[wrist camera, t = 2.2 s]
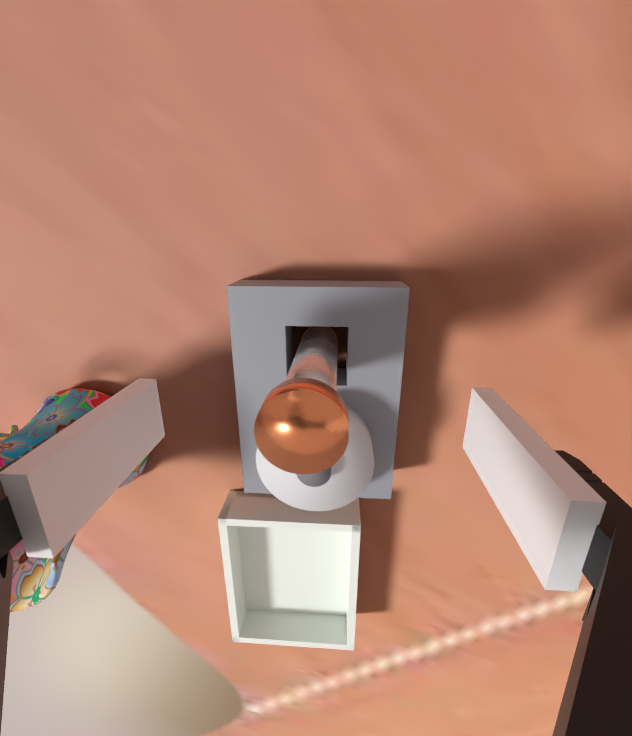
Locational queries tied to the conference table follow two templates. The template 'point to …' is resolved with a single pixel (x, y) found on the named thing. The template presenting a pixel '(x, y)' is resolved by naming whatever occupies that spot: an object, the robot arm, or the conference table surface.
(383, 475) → the grey slotted block
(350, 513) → the tray
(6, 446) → the mug
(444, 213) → the conference table surface
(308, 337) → the lock pin
